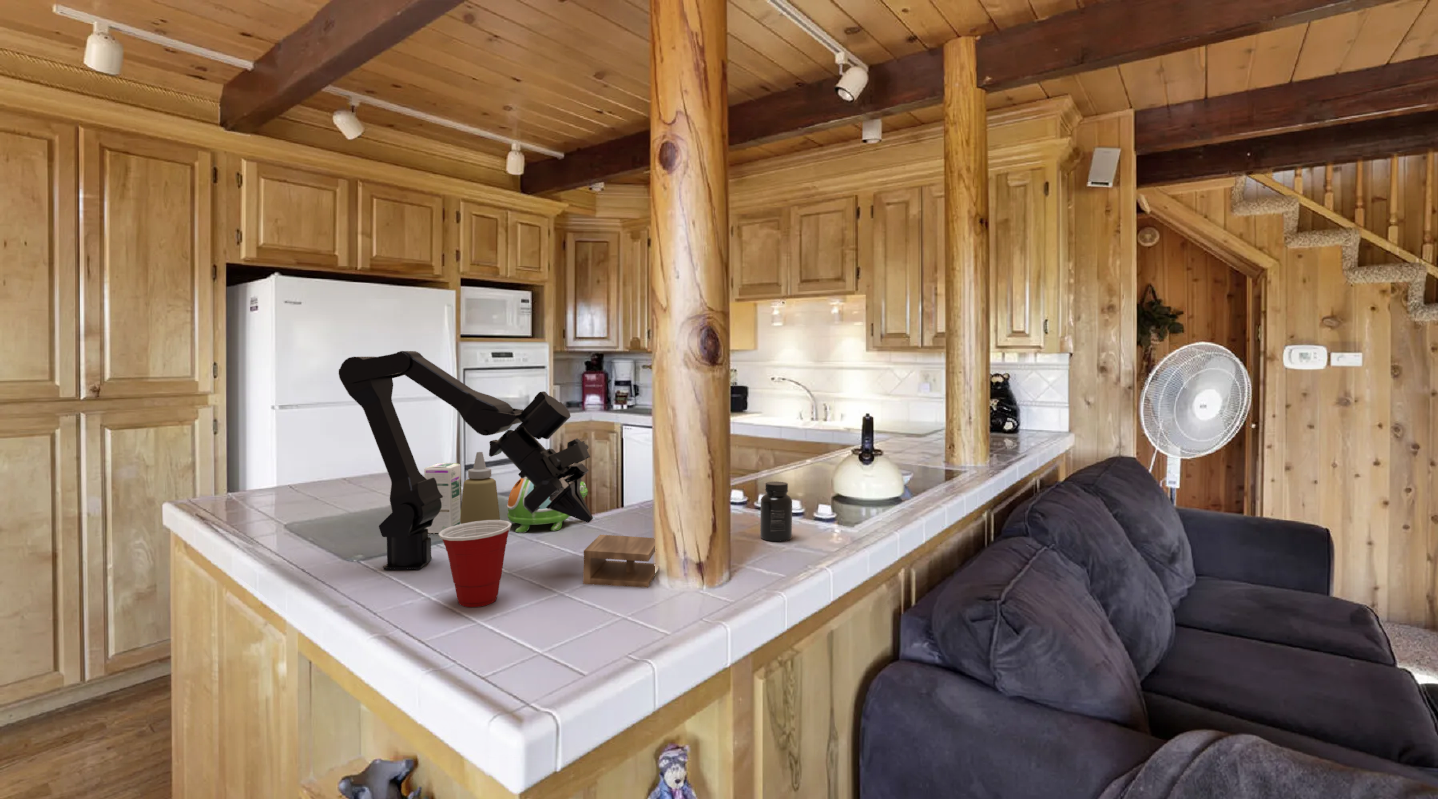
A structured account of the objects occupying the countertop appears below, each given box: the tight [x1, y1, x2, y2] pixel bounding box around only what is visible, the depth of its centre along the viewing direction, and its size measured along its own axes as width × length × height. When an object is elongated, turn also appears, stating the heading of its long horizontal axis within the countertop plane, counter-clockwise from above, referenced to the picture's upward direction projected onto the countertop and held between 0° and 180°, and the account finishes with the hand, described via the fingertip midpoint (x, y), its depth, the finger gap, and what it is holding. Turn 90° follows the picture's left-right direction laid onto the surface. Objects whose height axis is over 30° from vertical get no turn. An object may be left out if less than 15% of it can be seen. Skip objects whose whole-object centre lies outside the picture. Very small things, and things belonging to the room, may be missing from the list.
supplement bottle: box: [759, 481, 793, 542], centre depth 145 cm, size 7×7×12 cm
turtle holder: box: [506, 477, 589, 533], centre depth 153 cm, size 12×18×12 cm
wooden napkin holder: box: [582, 534, 656, 588], centre depth 119 cm, size 6×10×11 cm
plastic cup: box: [438, 519, 512, 608], centre depth 106 cm, size 11×11×12 cm
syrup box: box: [423, 462, 462, 534], centre depth 147 cm, size 6×6×14 cm
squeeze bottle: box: [460, 451, 501, 524], centre depth 142 cm, size 8×8×18 cm
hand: (590, 520), depth 119 cm, fingers closed
